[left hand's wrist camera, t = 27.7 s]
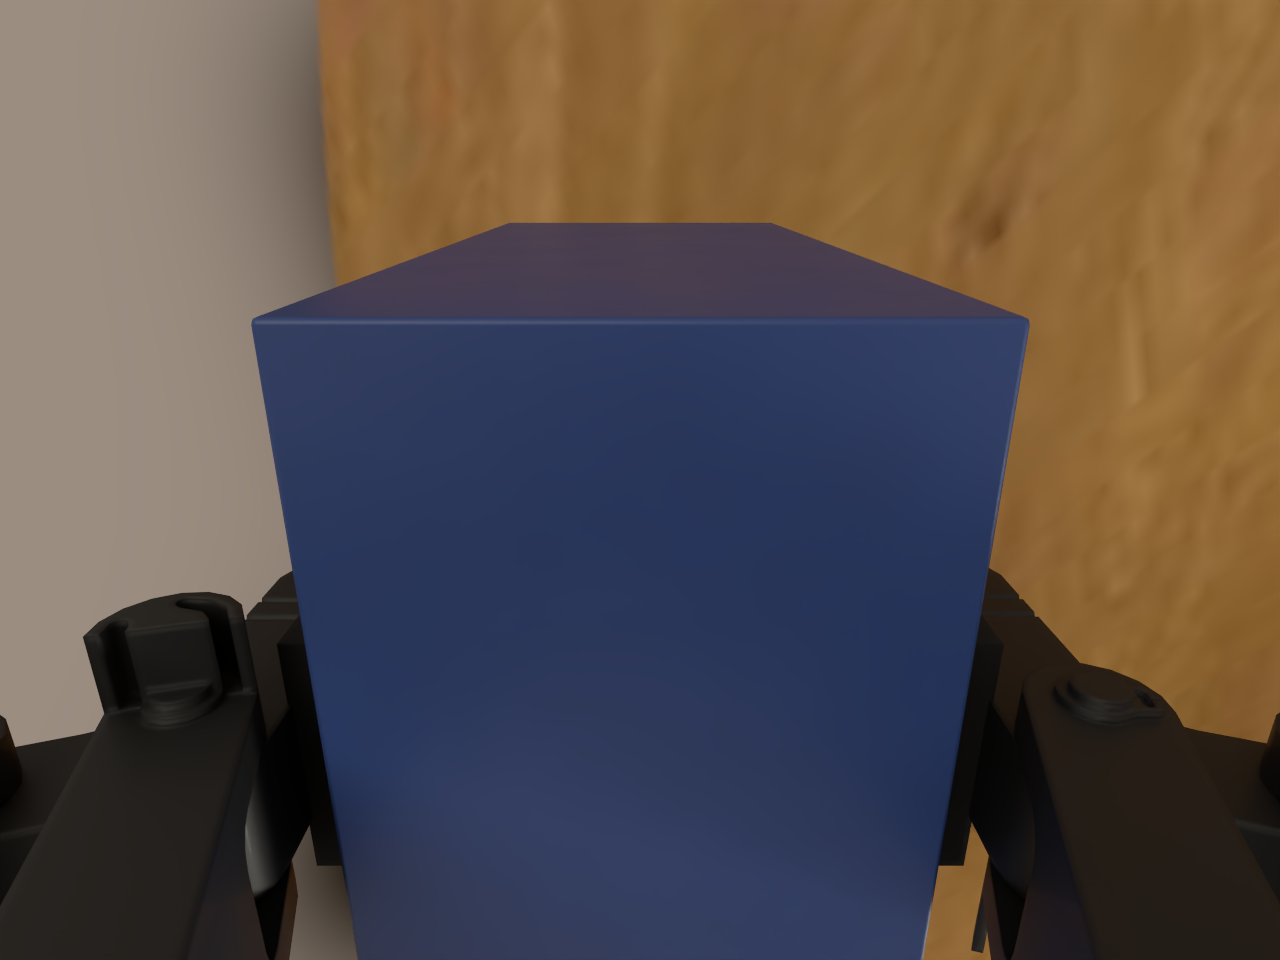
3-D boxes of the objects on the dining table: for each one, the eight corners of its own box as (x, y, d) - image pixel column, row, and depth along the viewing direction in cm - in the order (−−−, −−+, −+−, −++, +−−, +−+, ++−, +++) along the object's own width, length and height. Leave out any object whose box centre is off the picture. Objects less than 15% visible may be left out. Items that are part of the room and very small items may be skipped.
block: (507, 222, 16) (246, 317, 6) (773, 223, 16) (1035, 317, 6) (529, 623, 20) (392, 1177, 9) (751, 623, 20) (887, 1177, 9)
